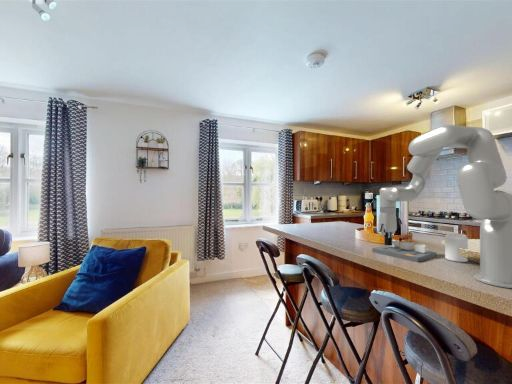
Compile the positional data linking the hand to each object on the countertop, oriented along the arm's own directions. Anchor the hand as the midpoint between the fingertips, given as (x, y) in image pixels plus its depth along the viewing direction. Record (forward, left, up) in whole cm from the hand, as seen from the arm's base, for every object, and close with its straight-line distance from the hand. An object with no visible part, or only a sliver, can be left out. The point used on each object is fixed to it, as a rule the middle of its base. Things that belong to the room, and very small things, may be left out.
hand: (388, 245), depth 128 cm
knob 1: (0, -5, -1) cm, 5 cm away
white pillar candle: (-26, -11, -4) cm, 28 cm away
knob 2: (-7, -5, -1) cm, 8 cm away
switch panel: (-7, -2, -4) cm, 8 cm away
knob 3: (-14, -5, -1) cm, 15 cm away
